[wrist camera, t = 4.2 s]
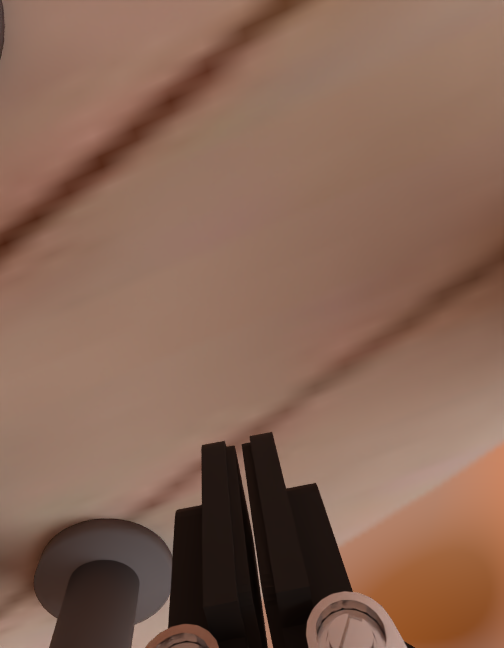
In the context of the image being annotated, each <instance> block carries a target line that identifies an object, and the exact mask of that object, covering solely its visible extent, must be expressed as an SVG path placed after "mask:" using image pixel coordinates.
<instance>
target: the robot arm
mask: <svg viewBox="0 0 504 648" xmlns="http://www.w3.org/2000/svg"><path fill="white" fill-rule="evenodd" d="M242 450H243V457H244V465H245V472H246V479H247V486H248V494H249V501H250V508H251V515H252V523H253V530H254V537H255V544H256V551H257V559H258V566H259V573H260V580H261V587H262V593H263V599H264V604H265V609H266V614H267V619H268V624H269V629H270V634H271V639H272V644H273V648H415V647H413V646H411V645H409V644H407V643H406V642H404V641H403V639H402V637H401V636H400V634H399V632H398V630H397V628H396V627H395V625H394V623H393V622H392V620H391V618H390V616H389V615H388V614H387V613H386V611H385V610H384V609H383V607H382V606H381V605H379V604H378V603H377V602H375V601H374V600H373V599H371V598H370V597H367V596H365V595H362V594H360V593H356V592H353V591H352V588H351V585H350V582H349V579H348V576H347V573H346V570H345V567H344V564H343V561H342V558H341V555H340V552H339V549H338V546H337V543H336V540H335V537H334V534H333V531H332V528H331V525H330V522H329V519H328V516H327V513H326V510H325V507H324V504H323V501H322V499H321V496H320V493H319V490H318V487H317V485H316V483H313V484H308V485H303V486H298V487H293V488H287V489H286V487H285V483H284V479H283V475H282V471H281V466H280V462H279V458H278V454H277V450H276V446H275V442H274V438H273V434H272V432H270V433H264V434H259V435H254V436H250V443H245V444H242ZM201 451H202V505H200V506H194V507H189V508H184V509H179V510H177V511H176V514H175V525H174V542H173V558H172V574H171V591H170V607H169V624H168V629H167V630H165V631H163V632H161V633H159V634H158V635H157V636H156V637H155V638H154V639H153V640H151V641H150V642H149V643H148V645H147V646H146V647H145V648H268V646H267V638H266V631H265V625H264V624H265V623H264V616H263V609H262V601H261V594H260V586H259V579H258V571H257V564H256V556H255V549H254V542H253V536H252V530H251V525H250V520H249V515H248V510H247V505H246V500H245V495H244V490H243V485H242V480H241V475H240V469H239V464H238V459H237V454H236V449H235V446H229V447H226V444H225V441H222V442H216V443H211V444H206V445H202V449H201Z"/></svg>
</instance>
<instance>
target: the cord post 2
mask: <svg viewBox="0 0 504 648" xmlns="http://www.w3.org/2000/svg"><path fill="white" fill-rule="evenodd" d="M171 574H172V555H171V552H170V550H169V548H168V546H167V545H166V544H165V542H164V541H163V540H162V539H161V538H160V537H159V536H158V535H156V534H155V533H154V532H152V531H151V530H149V529H147V528H145V527H143V526H141V525H139V524H136V523H132V522H129V521H124V520H117V519H97V520H90V521H85V522H82V523H78V524H75V525H73V526H71V527H68V528H67V529H65V530H63V531H61V532H60V533H59V534H57V535H56V536H55V537H54V538H53V539H52V540H51V541H50V542H49V543H48V545H47V546H46V547H45V549H44V551H43V553H42V556H41V559H40V561H39V564H38V567H37V569H36V572H35V576H34V590H35V593H36V596H37V598H38V600H39V602H40V603H41V604H42V606H43V607H44V608H45V609H46V610H47V611H48V612H49V613H50V614H52V615H53V616H54V617H56V618H58V619H57V623H56V626H55V630H54V633H53V636H52V640H51V643H50V647H49V648H131V645H132V638H133V630H134V625H135V624H137V623H140V622H142V621H144V620H146V619H148V618H149V617H151V616H152V615H154V614H155V613H156V612H157V611H158V610H159V609H160V608H161V607H162V606H163V605H164V604H165V602H166V601H167V599H168V597H169V595H170V591H171Z"/></svg>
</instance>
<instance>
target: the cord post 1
mask: <svg viewBox="0 0 504 648" xmlns="http://www.w3.org/2000/svg"><path fill="white" fill-rule="evenodd" d="M4 28H5V24H4V11H3V5H2V0H0V58H1V55H2V49H3V43H4Z"/></svg>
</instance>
